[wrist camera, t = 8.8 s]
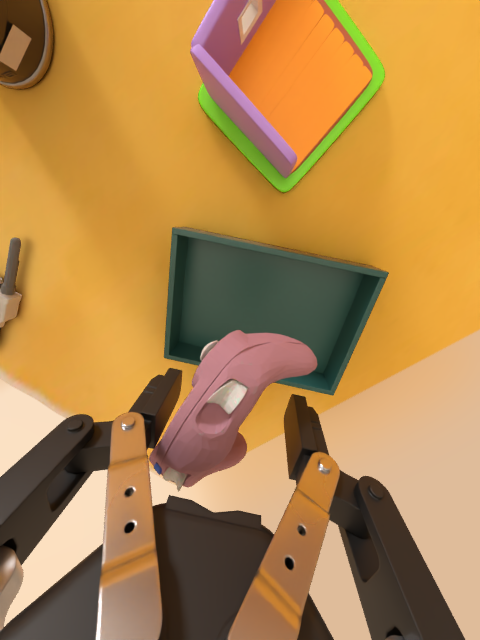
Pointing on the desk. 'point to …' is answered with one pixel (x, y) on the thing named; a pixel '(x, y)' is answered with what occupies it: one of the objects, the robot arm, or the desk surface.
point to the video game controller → (225, 402)
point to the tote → (267, 300)
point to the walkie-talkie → (10, 284)
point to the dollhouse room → (283, 79)
